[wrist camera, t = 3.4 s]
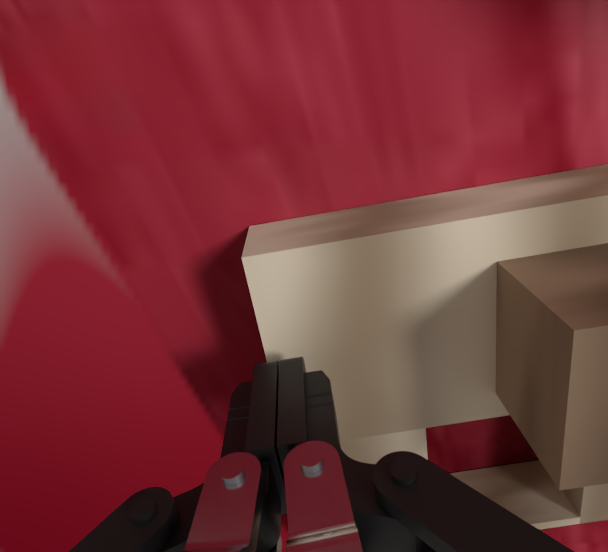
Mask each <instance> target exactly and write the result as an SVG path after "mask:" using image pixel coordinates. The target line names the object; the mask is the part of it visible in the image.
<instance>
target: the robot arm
mask: <svg viewBox="0 0 608 552" xmlns="http://www.w3.org/2000/svg"><path fill="white" fill-rule="evenodd" d="M229 409H230V410H229V413H228V421H227V424H226V430H225V435H224V441H223V447H222V452H221V458H220V459H219V460H218V461H216V462H215V463H214V464H213V465H212V467H211V468H210V469H209V471H208V472H207V475H206V478H205V481H204V483H203V484H201V485H199V486H198V487H196V488H194V489H192V490H189V491H187V492H185V493H183V494H180V495H178V496H176V497H172V495H171V494H170V492H169V491H168V490H166V489H164V488H161V487H151V488H147V489H144V490H141V491H139V492H137V493H135V494H134V495H132V496H131V497H130V498H128V499H127V500H126V501H125V502H124V503H123V504H121V505H120V506H119V507H118V508H117V509H116V510H115V511H114V512H112V513H111V514H110V515H109V516H108V517H107V518H106V519H105V520H104V521H103V522H101V523H100V524H99V525H98V526H97V527H96V528H95V529H94V530H93V531H91V532H90V533H89V534H88V535H87V536H86V537H85V538H84V539H83V540H81V541H80V542H79V543H78V544H77V545H76V546H75V547H74V548H72V549H71V550H70V551H69V552H282V539H281V535H280V531H281V515H282V514H287V518H288V530H289V540H288V541H287V542H286V552H574V551H572V550H570V549H569V548H567V547H566V546H564V545H562V544H561V543H559V542H558V541H556V540H555V539H553V538H551V537H550V536H548V535H547V534H545V533H543V532H542V531H540V530H539V529H537V528H535V527H534V526H532V525H531V524H529V523H527V522H526V521H524V520H523V519H521V518H519V517H518V516H516V515H515V514H513V513H511V512H510V511H508V510H507V509H505V508H503V507H502V506H500V505H499V504H497V503H496V502H494V501H492V500H491V499H489V498H488V497H486V496H484V495H483V494H481V493H480V492H478V491H476V490H475V489H473V488H472V487H470V486H468V485H467V484H465V483H464V482H462V481H460V480H459V479H457V478H456V477H454V476H452V475H451V474H449V473H448V472H446V471H444V470H443V469H441V468H440V467H438V466H437V465H435V464H433V463H432V462H430V461H429V460H427V459H425V458H424V457H422V456H420V455H418V454H416V453H413V452H408V451H397V452H392V453H389V454H387V455H385V456H383V457H382V458H381V459H380V460H379V461H378V462H377V463H376V464H369V463H363V462H359V461H356V460H354V459H352V458H350V457H348V456H347V455H346V454H345V453H344V452H343V451H342V449H341V445H340V438H339V431H338V423H337V417H336V411H335V405H334V400H333V394H332V389H331V383H330V379H329V378H328V377H327V376H326V375H325V373H324V372H323V371H322V370H319V371H313V372H306V368H305V363H304V359H303V357H296V358H290V359H284V360H280V361H272V362H266V363H259V364H255V366H254V374H253V381H250V382H244V383H240V384H239V386H238V387H237V388H236V390H235V391H234V393H233V394H232V396H231V401H230V407H229Z"/></svg>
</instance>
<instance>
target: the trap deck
mask: <svg viewBox="0 0 608 552" xmlns="http://www.w3.org/2000/svg"><path fill="white" fill-rule="evenodd" d="M605 243H608V164H605V165H599V166H594V167H588V168H582V169H576V170H571V171H565V172H559V173H553V174H548V175H542V176H536V177H530V178H525V179H519V180H513V181H507V182H502V183H496V184H490V185H484V186H479V187H473V188H467V189H461V190H455V191H450V192H444V193H438V194H432V195H427V196H421V197H415V198H409V199H404V200H398V201H392V202H386V203H381V204H375V205H369V206H363V207H358V208H352V209H346V210H340V211H335V212H329V213H323V214H317V215H312V216H306V217H300V218H294V219H289V220H283V221H277V222H271V223H265V224H260V225H254V226H249V229H248V233H247V237H246V241H245V245H244V249H243V253H242V257H241V258H242V262H243V266H244V271H245V275H246V279H247V283H248V287H249V291H250V295H251V299H252V303H253V307H254V311H255V315H256V319H257V324H258V328H259V332H260V336H261V340H262V344H263V348H264V352H265V356H266V360H267V362H272V361H280V360H284V359H290V358H296V357H303V359H304V363H305V368H306V372H313V371H319V370H322V371H323V372H324V373H325V375H326V376H327V377H328V378H329V379H330V383H331V389H332V394H333V400H334V405H335V411H336V417H337V423H338V431H339V438H340V445H341V449H342V451H343V452H344V453H345V454H346V455H347V456H348V457H350V458H352V459H354V460H356V461H359V462H363V463H369V464H376V463H377V462H378V461H379V460H380V459H381V458H382V457H383V456H385V455H387V454H389V453H392V452H397V451H408V452H413V453H416V454H418V455H420V456H422V457H424V458H425V459H427V460H428V455H427V441H426V428H429V427H436V426H442V425H449V424H455V423H462V422H468V421H475V420H481V419H488V418H494V417H501V416H507V415H510V414H509V413H508V411H507V410H506V408H505V407H504V405H503V404H502V402H501V400H500V399H499V397H498V396H497V394H496V291H497V261H503V260H509V259H515V258H521V257H527V256H533V255H539V254H545V253H551V252H557V251H563V250H569V249H575V248H581V247H587V246H593V245H599V244H605ZM450 474H451V475H452V476H454V477H456V478H457V479H459V480H460V481H462V482H464V483H465V484H467V485H468V486H470V487H472V488H473V489H475V490H476V491H478V492H480V493H481V494H483V495H484V496H486V497H488V498H489V499H491V500H492V501H494V502H496V503H497V504H499V505H500V506H502V507H503V508H505V509H507V510H508V511H510V512H511V513H513V514H515V515H516V516H518V517H519V518H521V519H523V520H524V521H526V522H527V523H529V524H531V525H532V526H534V527H535V528H537V529H546V528H553V527H560V526H567V525H574V524H581V523H588V522H595V521H602V520H608V483H607V484H600V485H593V486H586V487H580V488H573V489H566V490H559V489H558V488H557V486H556V485H555V483H554V482H553V480H552V478H551V477H550V475H549V474H548V472H547V471H546V469H545V468H544V466H543V465H542V463H541V462H540V460H536V461H530V462H523V463H516V464H510V465H503V466H496V467H490V468H483V469H476V470H470V471H463V472H456V473H450Z"/></svg>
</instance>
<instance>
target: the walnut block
mask: <svg viewBox="0 0 608 552" xmlns="http://www.w3.org/2000/svg"><path fill="white" fill-rule="evenodd" d="M496 394H497V396H498V397H499V399H500V400H501V402H502V404H503V405H504V407H505V408H506V410H507V411H508V413H509V414H510V416H511V417H512V419H513V420H514V422H515V423H516V425H517V426H518V428H519V430H520V431H521V433H522V434H523V436H524V437H525V439H526V440H527V442H528V443H529V445H530V446H531V448H532V449H533V451H534V452H535V454H536V456H537V457H538V459H539V460H540V462H541V463H542V465H543V466H544V468H545V469H546V471H547V472H548V474H549V475H550V477H551V478H552V480H553V482H554V483H555V485H556V486H557V488H558V489H559V490H566V489H573V488H580V487H586V486H593V485H600V484H607V483H608V243H605V244H599V245H593V246H587V247H581V248H575V249H569V250H563V251H557V252H551V253H545V254H539V255H533V256H527V257H521V258H515V259H509V260H503V261H497V291H496Z"/></svg>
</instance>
